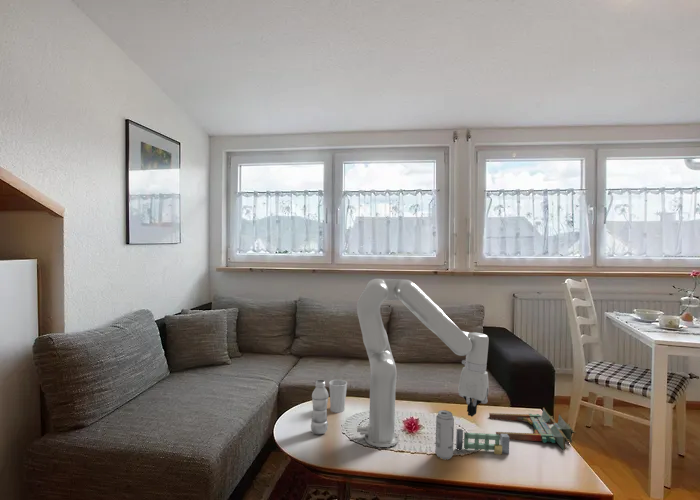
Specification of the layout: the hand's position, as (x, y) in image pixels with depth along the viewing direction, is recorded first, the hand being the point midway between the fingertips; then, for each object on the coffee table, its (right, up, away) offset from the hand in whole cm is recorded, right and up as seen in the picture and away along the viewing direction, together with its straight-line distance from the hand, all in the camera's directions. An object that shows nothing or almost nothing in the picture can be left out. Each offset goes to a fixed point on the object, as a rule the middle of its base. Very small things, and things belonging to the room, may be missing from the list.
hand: (471, 414), depth 149 cm
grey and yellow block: (+9, -11, -6) cm, 15 cm away
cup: (-51, -9, +27) cm, 58 cm away
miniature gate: (+28, -12, +11) cm, 32 cm away
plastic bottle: (-57, -9, +5) cm, 58 cm away
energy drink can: (-12, -11, -10) cm, 19 cm away
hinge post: (-6, -10, -5) cm, 13 cm away
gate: (+2, -10, -6) cm, 12 cm away
